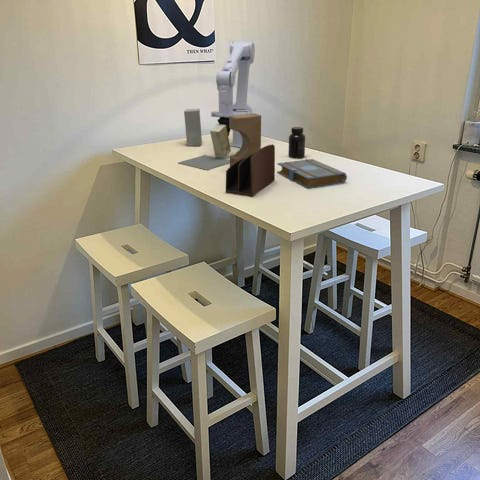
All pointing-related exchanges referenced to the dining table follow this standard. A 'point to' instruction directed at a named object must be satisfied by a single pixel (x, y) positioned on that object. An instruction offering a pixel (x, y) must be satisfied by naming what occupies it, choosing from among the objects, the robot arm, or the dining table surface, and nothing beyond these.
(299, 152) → the supplement bottle
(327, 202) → the dining table surface
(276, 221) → the dining table surface
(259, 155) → the letter holder
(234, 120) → the decorative block
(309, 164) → the book
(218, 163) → the mat
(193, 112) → the skincare box
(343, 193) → the dining table surface
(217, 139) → the skincare box
